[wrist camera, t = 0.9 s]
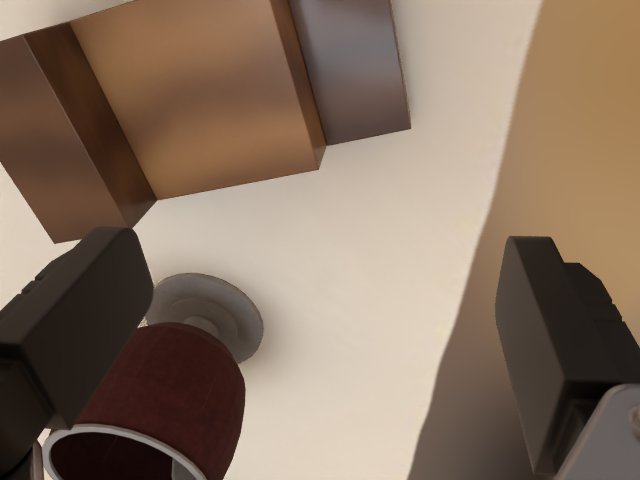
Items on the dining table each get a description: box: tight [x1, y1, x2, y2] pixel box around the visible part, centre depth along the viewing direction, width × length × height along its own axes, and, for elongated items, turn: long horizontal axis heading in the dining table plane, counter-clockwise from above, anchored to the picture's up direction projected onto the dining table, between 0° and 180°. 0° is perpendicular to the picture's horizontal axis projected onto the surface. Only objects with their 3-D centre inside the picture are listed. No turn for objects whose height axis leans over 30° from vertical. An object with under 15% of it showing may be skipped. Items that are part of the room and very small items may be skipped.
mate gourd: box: [42, 273, 263, 480], centre depth 40 cm, size 16×14×20 cm
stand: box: [0, 0, 411, 244], centre depth 30 cm, size 12×24×10 cm, turn 105°
